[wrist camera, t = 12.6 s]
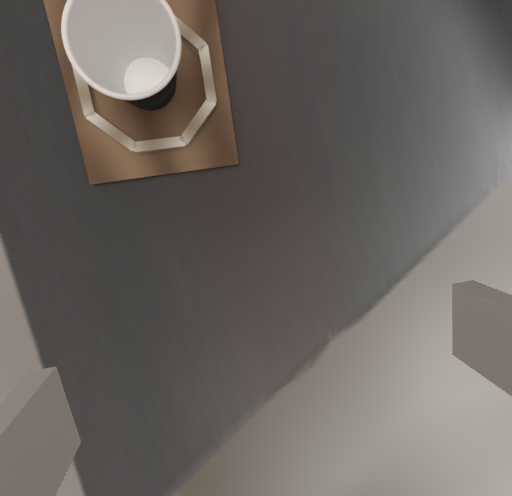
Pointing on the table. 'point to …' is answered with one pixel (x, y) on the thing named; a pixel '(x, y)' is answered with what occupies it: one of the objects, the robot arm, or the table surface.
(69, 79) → the board
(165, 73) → the dixie cup
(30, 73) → the table surface
